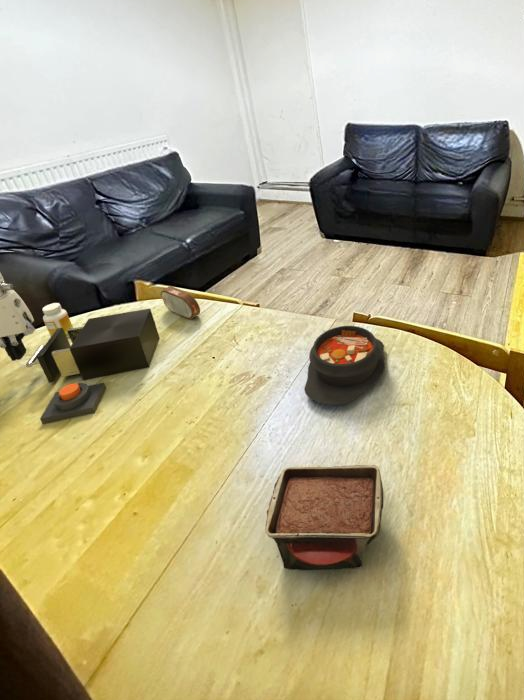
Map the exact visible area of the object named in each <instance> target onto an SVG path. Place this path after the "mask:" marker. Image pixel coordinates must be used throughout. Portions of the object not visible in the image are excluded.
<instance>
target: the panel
mask: <svg viewBox="0 0 524 700" xmlns="http://www.w3.org/2000/svg"><path fill="white" fill-rule="evenodd" d="M76 384H78V385H79V388H80V390H81V393H80V394H79V395H78V396H77V397H75V398H73V399H71V400H67V401H63V400H62V399H61V397H60V395H59V391H55V392H54V394H53V396H52V398H51V399H50V401H49V403H48V404H47V406H46V407H45V410H43V413H42V414H41V416H40V418H39V420H40V422H41V424H42V425H45V424H50V423H55V422H60V421H64V420H69V419H70V420H71V419H74V418H78V417H83V416H87V415H88V416H89V415H92V414H95V413H96V411H97V410H98V406H99V405H100V403H101V400H102V398H103V396H104V394H105V391H106V389H107V385H106V384H105V382H100V383H95V384H90V385H88V384H87V383H83V382H78V383H76Z"/></svg>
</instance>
